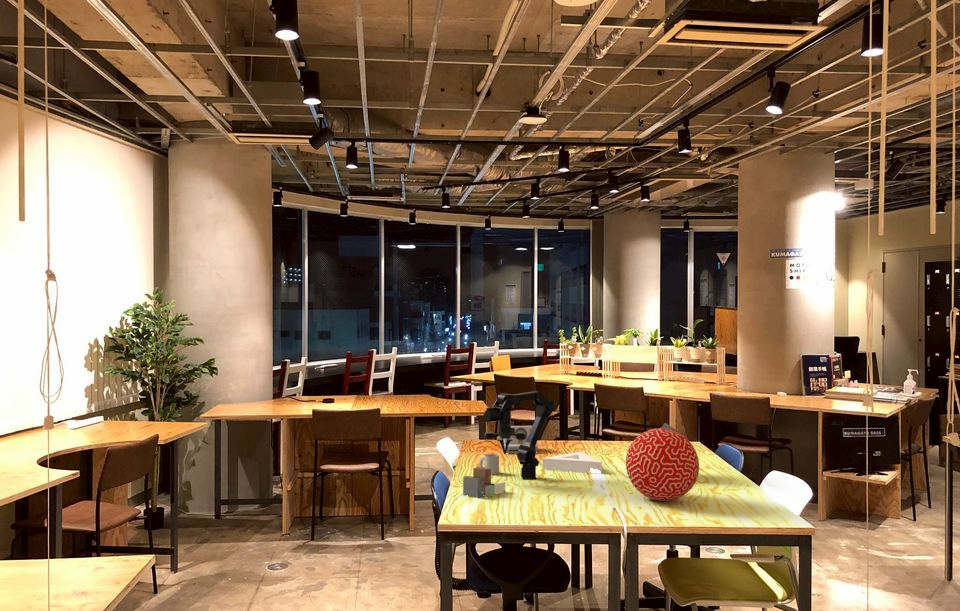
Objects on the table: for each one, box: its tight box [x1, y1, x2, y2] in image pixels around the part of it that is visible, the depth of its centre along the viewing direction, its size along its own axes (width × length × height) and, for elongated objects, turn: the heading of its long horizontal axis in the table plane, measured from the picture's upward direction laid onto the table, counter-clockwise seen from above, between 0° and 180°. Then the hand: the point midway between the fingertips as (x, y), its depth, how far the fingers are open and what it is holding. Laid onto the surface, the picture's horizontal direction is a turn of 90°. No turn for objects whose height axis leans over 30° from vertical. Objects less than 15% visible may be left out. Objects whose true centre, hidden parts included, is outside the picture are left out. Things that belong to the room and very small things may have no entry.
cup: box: [478, 453, 500, 475], centre depth 354 cm, size 7×10×9 cm
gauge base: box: [481, 481, 506, 498], centre depth 313 cm, size 14×11×4 cm
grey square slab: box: [462, 475, 481, 498], centre depth 308 cm, size 2×8×8 cm, turn 52°
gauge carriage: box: [472, 465, 496, 491], centre depth 312 cm, size 5×11×9 cm, turn 52°
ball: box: [625, 427, 700, 502], centre depth 301 cm, size 30×30×30 cm
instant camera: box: [501, 425, 539, 453], centre depth 415 cm, size 21×21×15 cm
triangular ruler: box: [542, 450, 603, 474], centre depth 370 cm, size 30×26×6 cm
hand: (504, 454), depth 335 cm, fingers closed
